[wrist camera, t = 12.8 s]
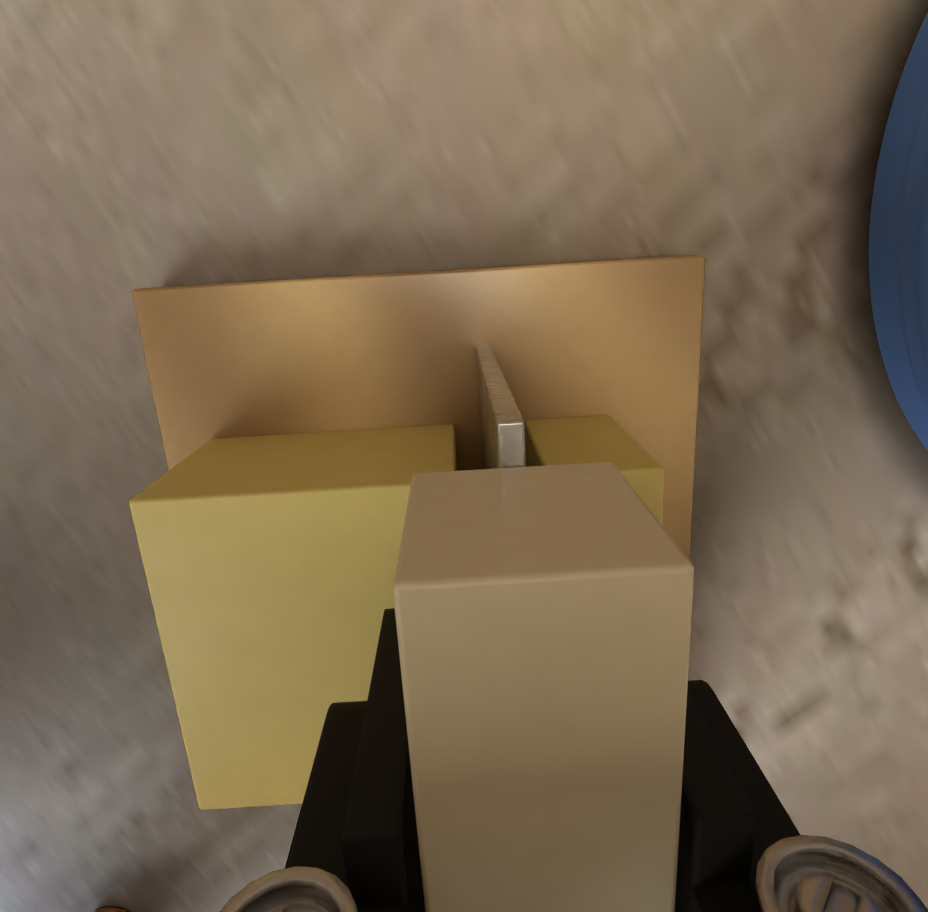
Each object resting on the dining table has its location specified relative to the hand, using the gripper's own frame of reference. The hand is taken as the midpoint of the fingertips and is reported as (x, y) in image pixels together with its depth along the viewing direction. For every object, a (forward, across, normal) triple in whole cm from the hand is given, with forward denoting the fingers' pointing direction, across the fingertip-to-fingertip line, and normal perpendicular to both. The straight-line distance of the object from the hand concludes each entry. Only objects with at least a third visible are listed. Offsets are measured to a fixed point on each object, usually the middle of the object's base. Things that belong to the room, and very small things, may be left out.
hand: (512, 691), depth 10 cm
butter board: (+6, +1, 0) cm, 6 cm away
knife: (+5, 0, 0) cm, 5 cm away
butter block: (+5, +3, 0) cm, 6 cm away
